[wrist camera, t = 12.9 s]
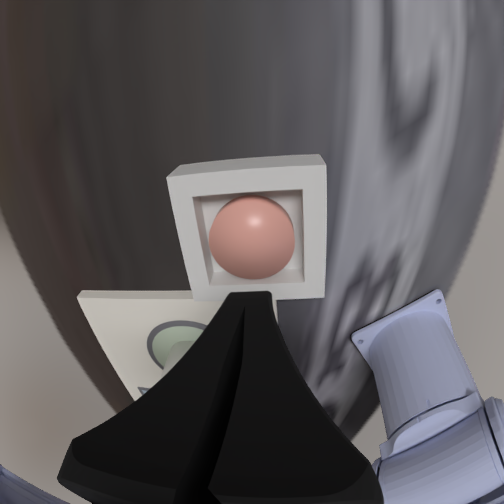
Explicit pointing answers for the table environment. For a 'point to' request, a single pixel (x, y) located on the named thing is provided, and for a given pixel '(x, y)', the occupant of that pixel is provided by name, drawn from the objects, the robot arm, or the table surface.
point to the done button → (252, 237)
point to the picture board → (145, 329)
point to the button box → (263, 184)
